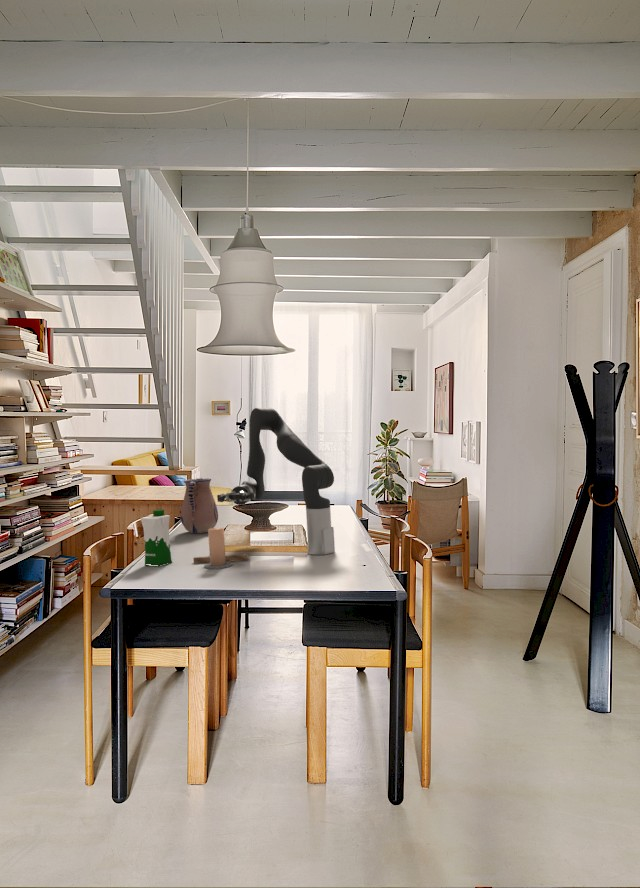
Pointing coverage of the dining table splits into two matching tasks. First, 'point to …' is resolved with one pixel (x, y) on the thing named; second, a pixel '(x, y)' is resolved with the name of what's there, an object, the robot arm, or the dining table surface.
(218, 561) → the peach cylinder
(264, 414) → the robot arm
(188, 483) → the ceramic pitcher
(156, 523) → the milk carton
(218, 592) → the dining table surface
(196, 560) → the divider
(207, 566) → the coaster
